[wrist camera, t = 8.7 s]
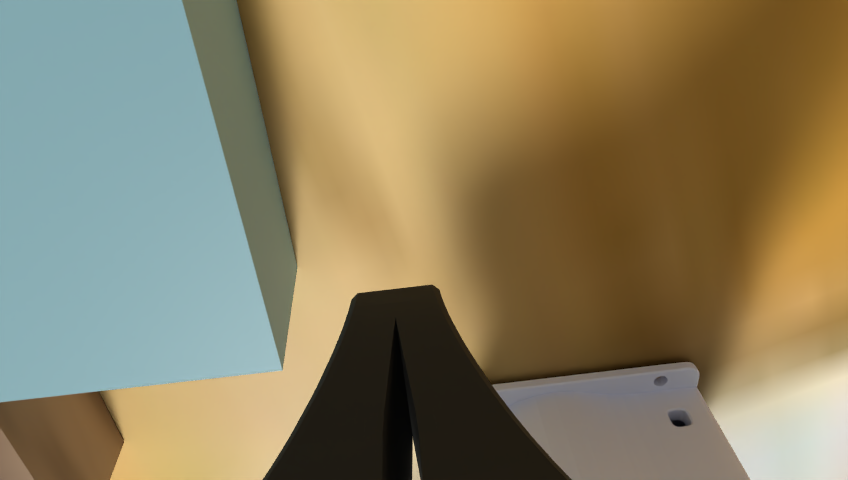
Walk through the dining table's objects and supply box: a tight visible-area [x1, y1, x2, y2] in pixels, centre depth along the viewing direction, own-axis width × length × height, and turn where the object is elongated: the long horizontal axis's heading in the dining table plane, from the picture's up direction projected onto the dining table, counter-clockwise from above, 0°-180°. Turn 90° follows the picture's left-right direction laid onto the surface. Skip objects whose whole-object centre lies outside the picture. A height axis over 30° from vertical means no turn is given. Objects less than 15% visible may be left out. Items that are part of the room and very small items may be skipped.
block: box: [0, 0, 297, 402], centre depth 17 cm, size 8×10×5 cm
